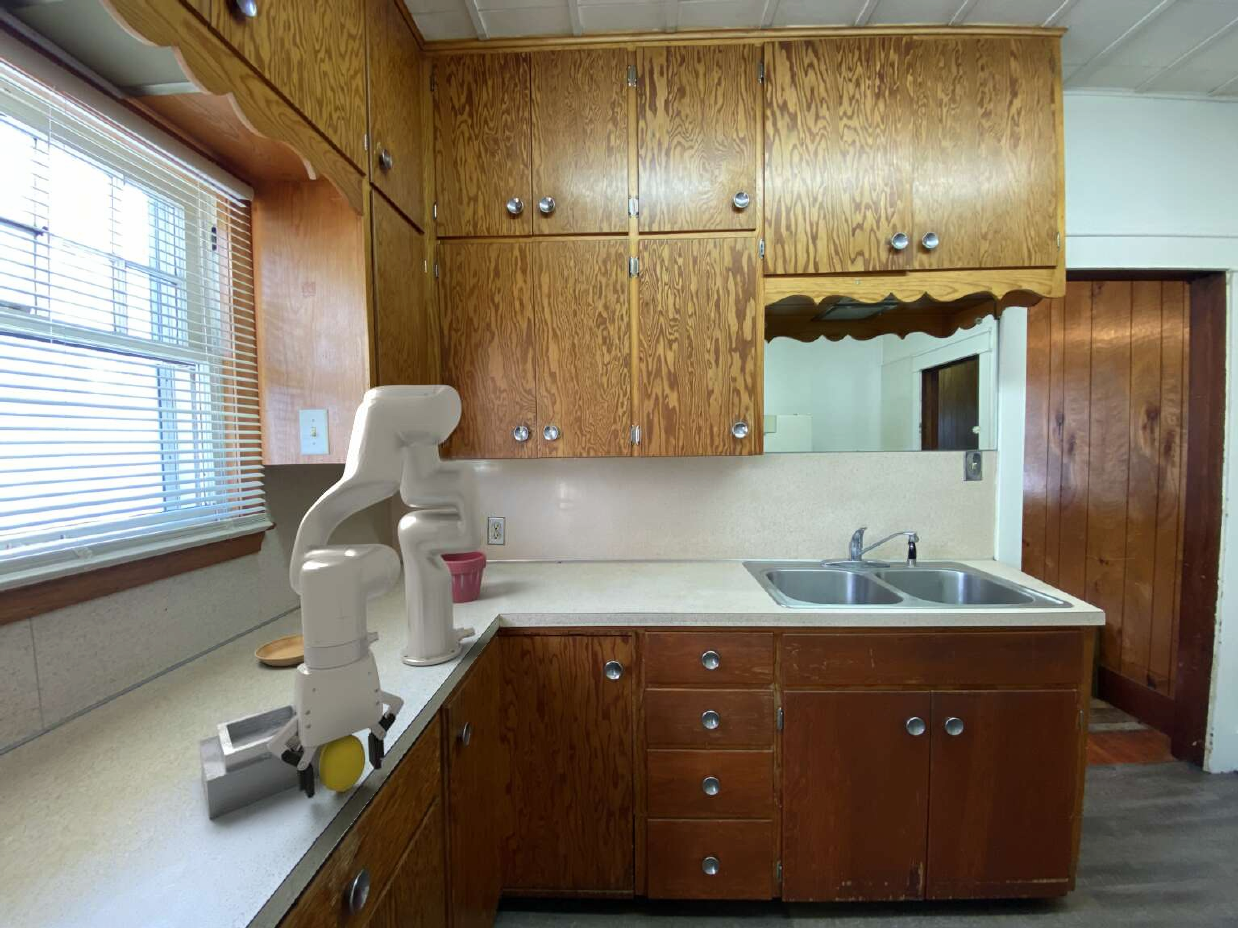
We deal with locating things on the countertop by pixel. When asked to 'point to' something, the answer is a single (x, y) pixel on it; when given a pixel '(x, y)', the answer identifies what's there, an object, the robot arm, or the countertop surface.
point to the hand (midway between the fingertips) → (343, 777)
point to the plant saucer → (282, 651)
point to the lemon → (342, 763)
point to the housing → (248, 761)
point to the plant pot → (465, 574)
